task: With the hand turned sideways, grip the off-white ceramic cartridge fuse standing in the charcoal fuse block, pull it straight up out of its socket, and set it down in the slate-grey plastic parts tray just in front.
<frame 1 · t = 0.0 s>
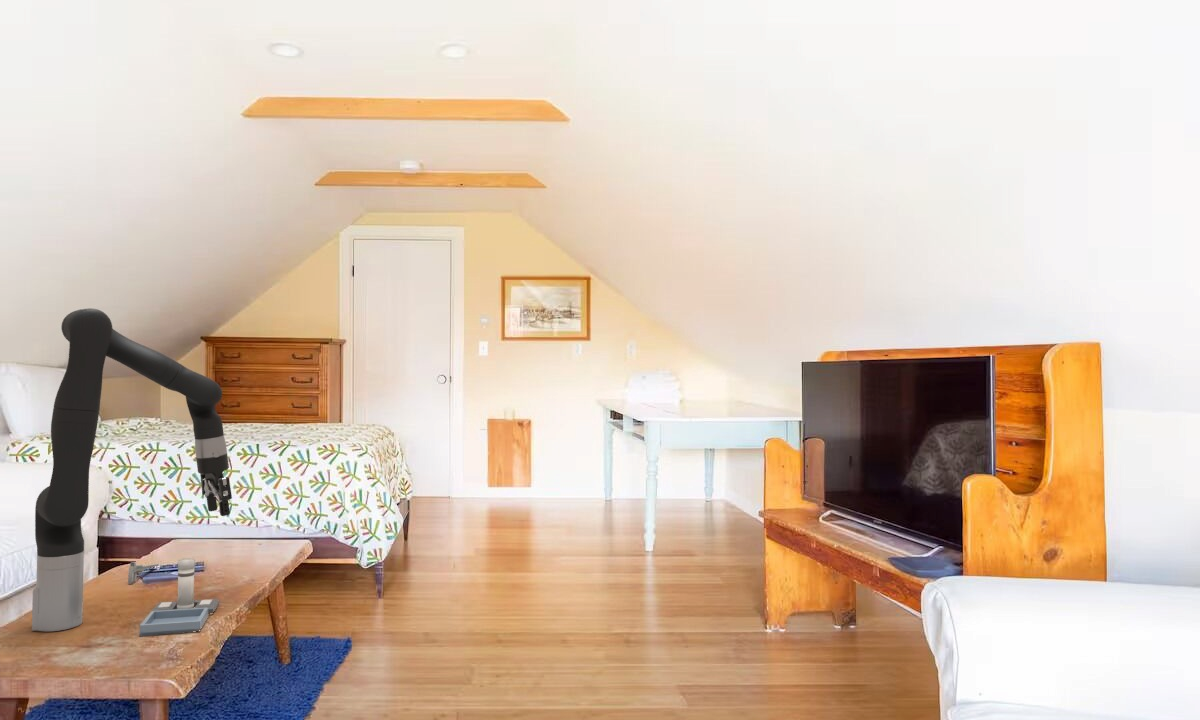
hand: (219, 513, 215), 22 cm above the table, tool pointing down, fingers open, 8 cm apart
caliper: (144, 576, 234), on the table
parts tray: (175, 626, 190), on the table
fuse block: (185, 611, 201), on the table
fuse: (185, 611, 201), resting in fuse block
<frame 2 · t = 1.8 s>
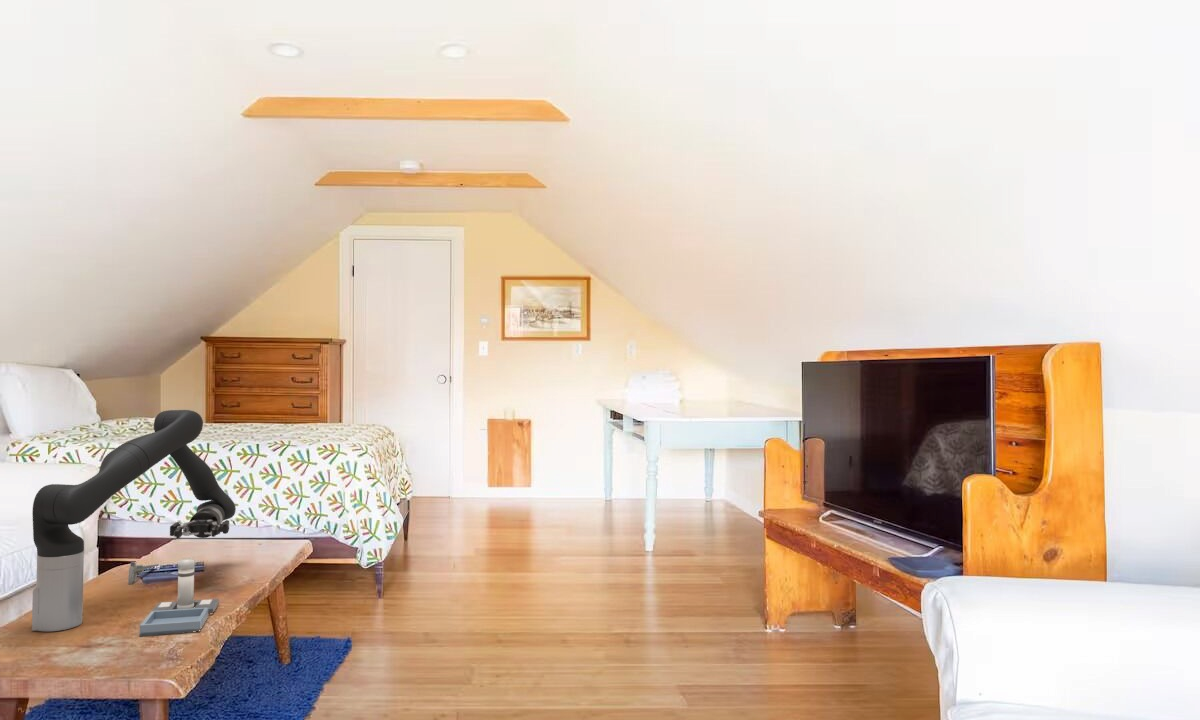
hand: (195, 533, 212), 17 cm above the table, tool horizontal, fingers open, 8 cm apart
nothing on the table moved.
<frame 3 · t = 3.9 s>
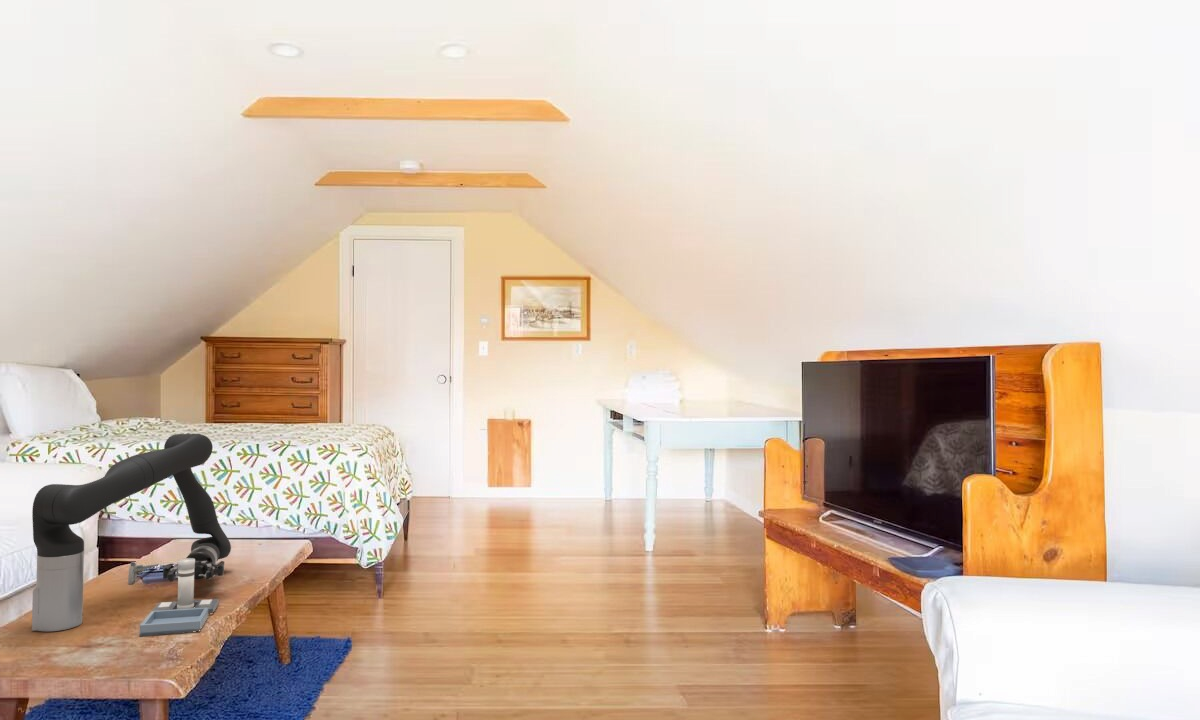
hand: (189, 576, 206), 7 cm above the table, tool horizontal, fingers open, 8 cm apart
nothing on the table moved.
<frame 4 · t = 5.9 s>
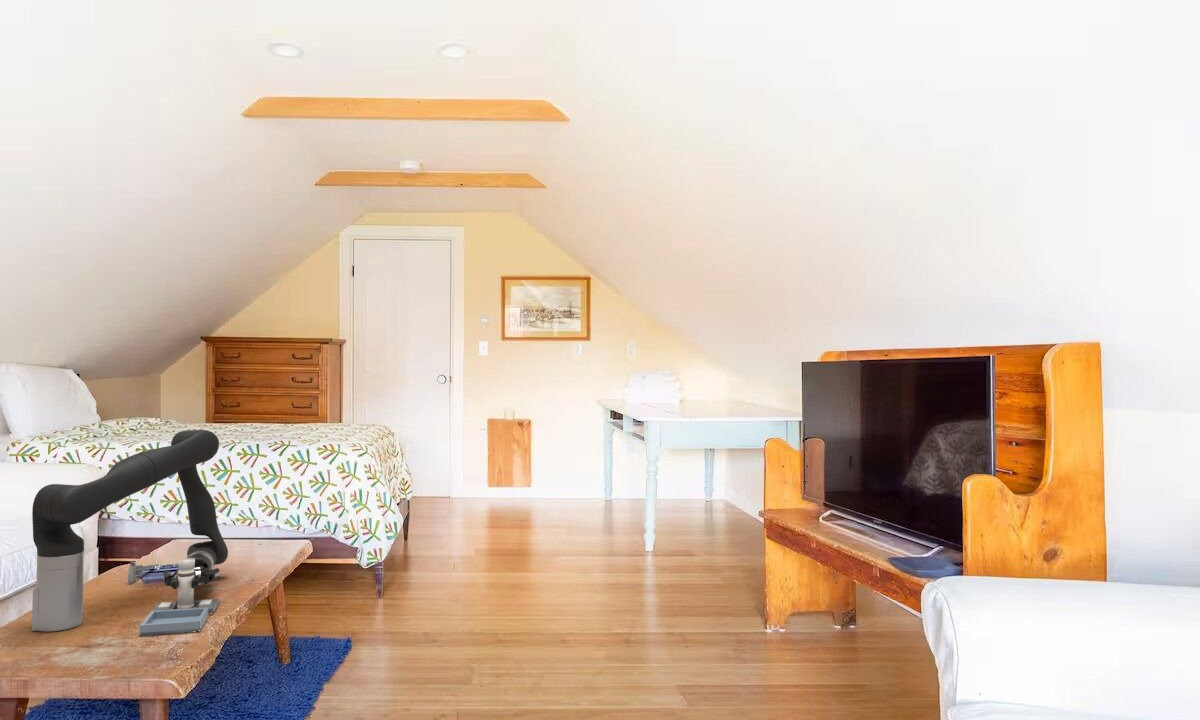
hand: (183, 584, 199), 8 cm above the table, tool horizontal, fingers closed on fuse, 3 cm apart
fuse: (185, 611, 201), resting in fuse block, touching gripper
everything else where it was.
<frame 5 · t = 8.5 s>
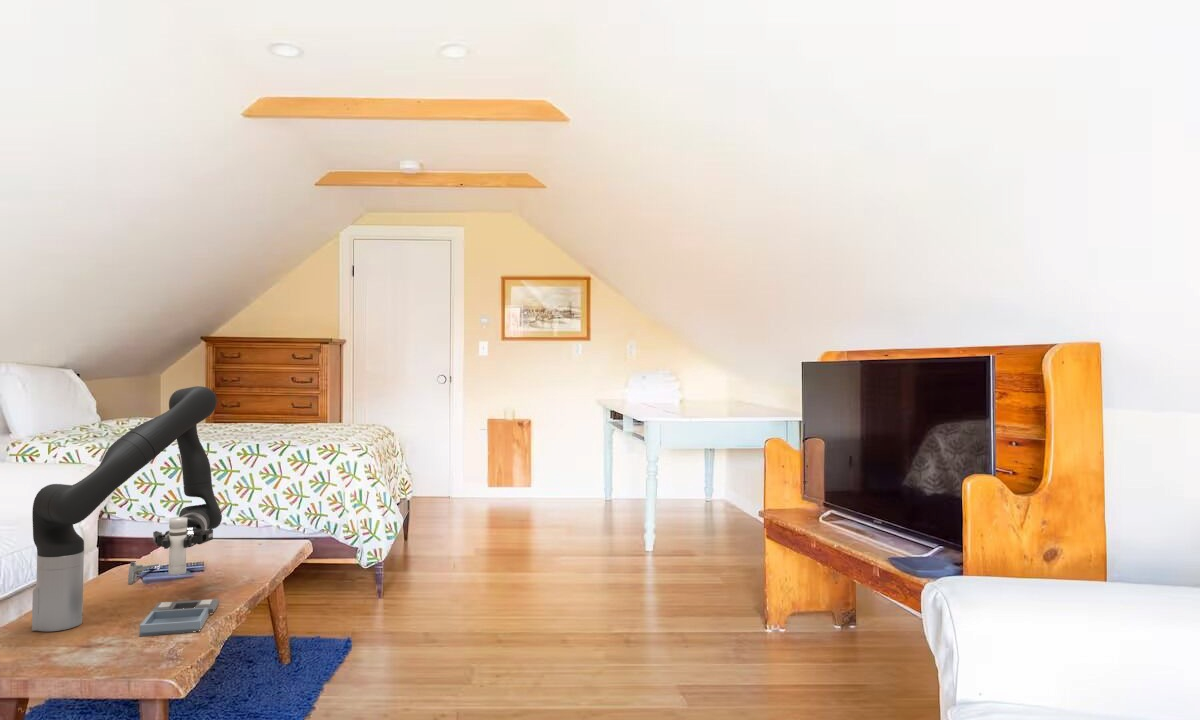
hand: (175, 543, 188), 20 cm above the table, tool horizontal, fingers closed on fuse, 3 cm apart
fuse: (177, 572, 191), point 12 cm above the table, touching gripper
everything else where it was.
when the fingers open (9 cm above the table, at t = 11.3 s): fuse drops 1 cm, resting on parts tray.
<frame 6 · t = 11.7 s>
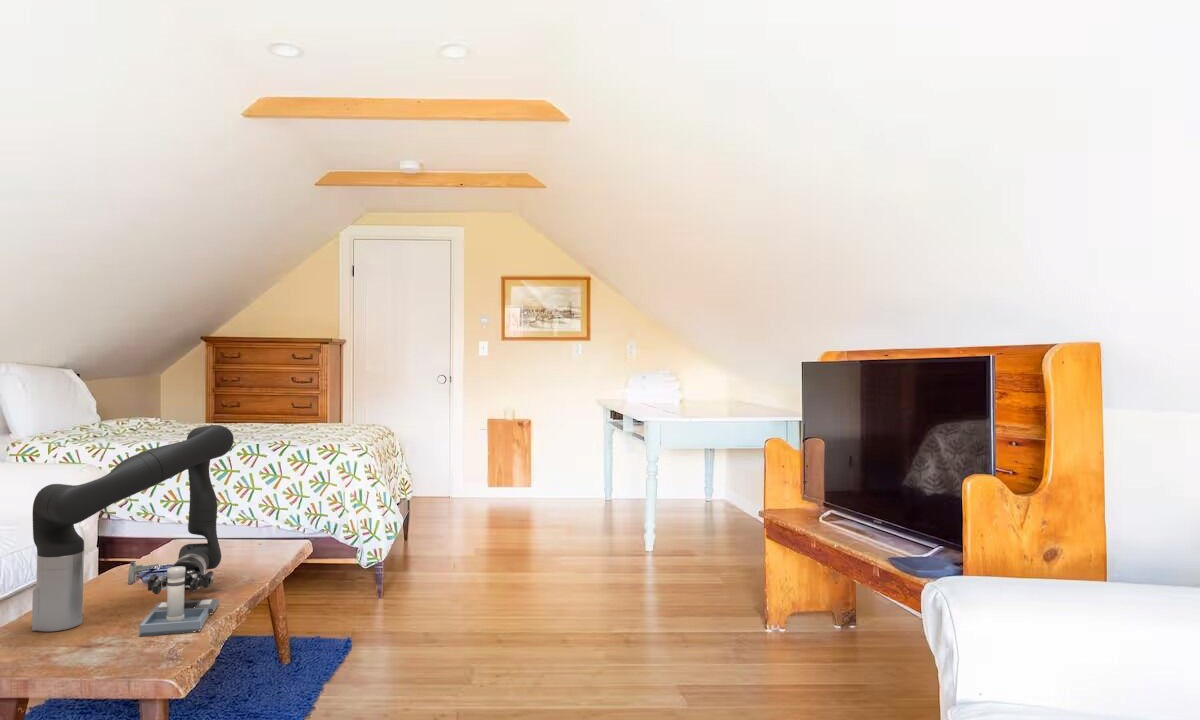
hand: (174, 589, 188), 10 cm above the table, tool horizontal, fingers open, 7 cm apart
fuse: (175, 623, 190), point 1 cm above the table, touching parts tray
everything else where it was.
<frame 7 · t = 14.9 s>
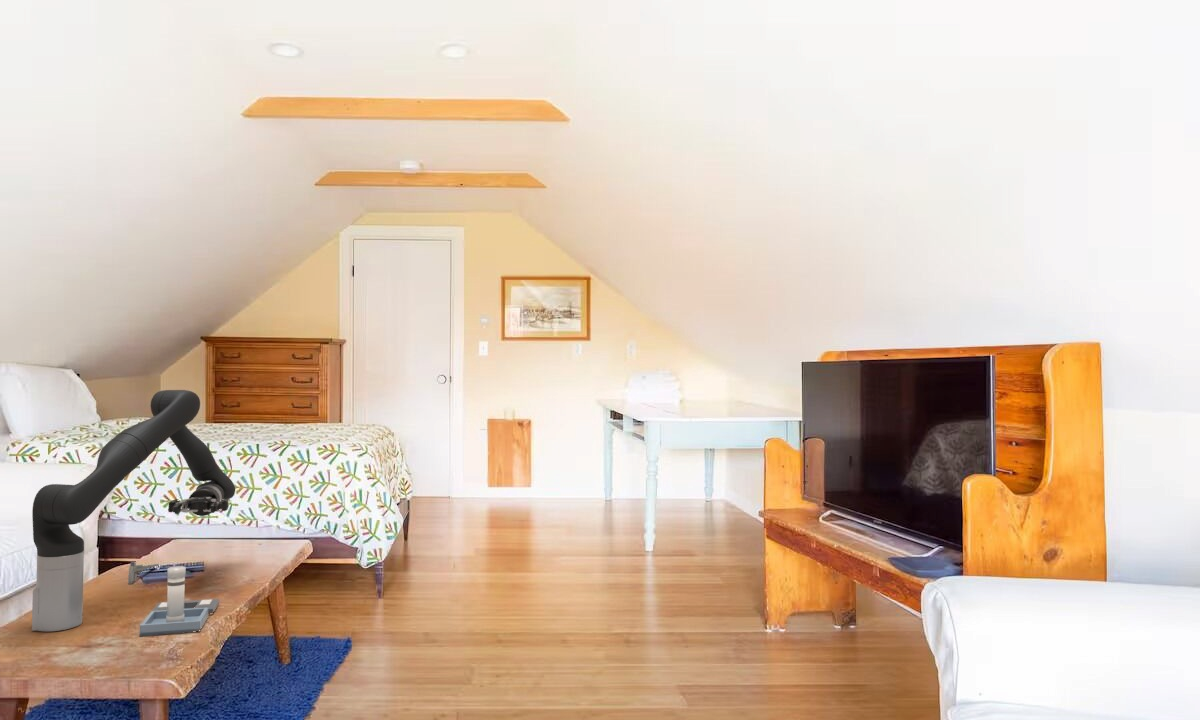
hand: (194, 509, 210), 24 cm above the table, tool horizontal, fingers open, 8 cm apart
nothing on the table moved.
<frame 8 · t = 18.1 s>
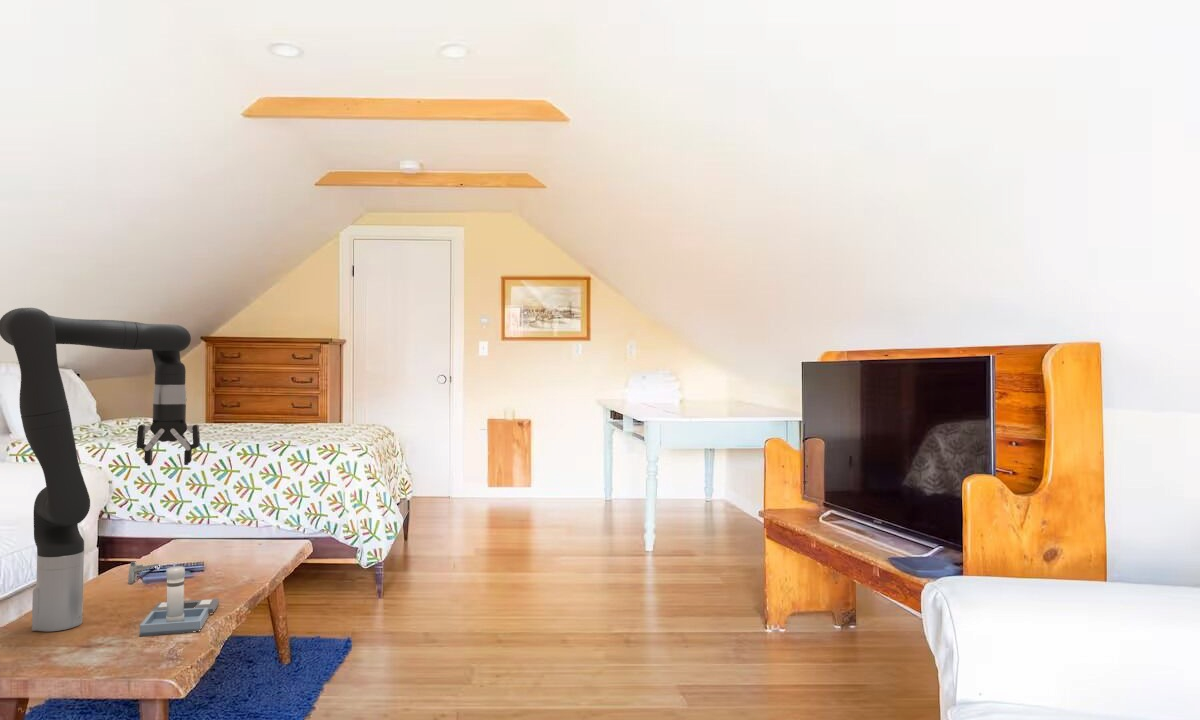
hand: (168, 465, 207), 36 cm above the table, tool pointing down, fingers open, 8 cm apart
nothing on the table moved.
at the end: fuse inside the target area on the parts tray (0.1 cm from its centre), point 0.8 cm above the parts tray's base; the gripper is holding nothing; fuse moved 12.0 cm from its start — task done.
